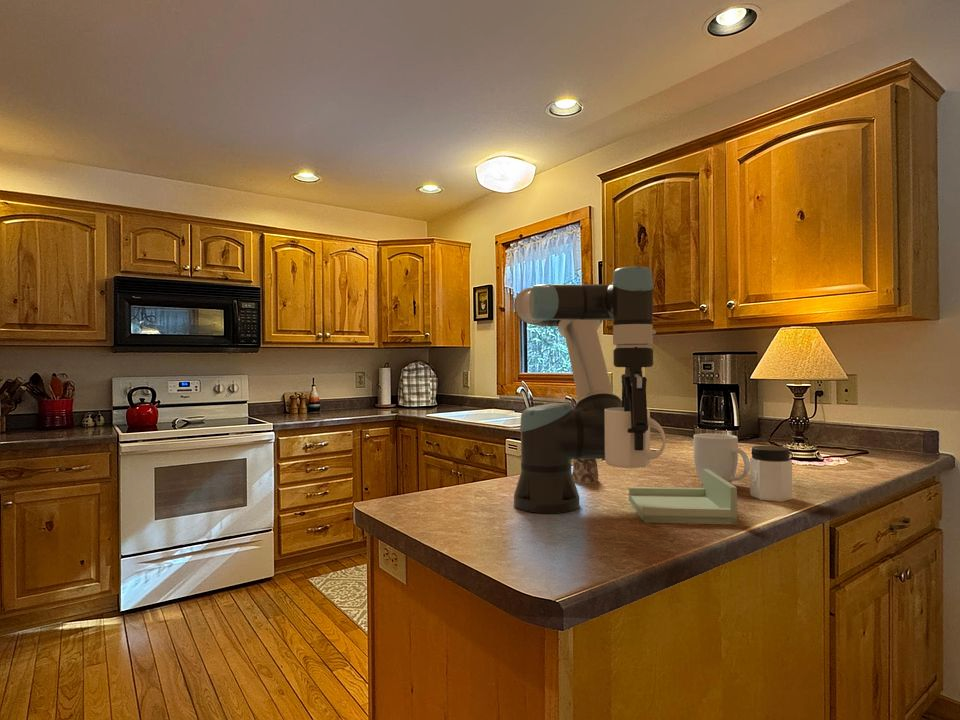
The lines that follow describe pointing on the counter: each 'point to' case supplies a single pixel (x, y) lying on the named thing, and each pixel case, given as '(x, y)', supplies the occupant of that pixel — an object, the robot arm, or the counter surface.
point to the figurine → (585, 471)
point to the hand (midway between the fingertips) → (633, 462)
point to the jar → (771, 473)
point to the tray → (688, 502)
